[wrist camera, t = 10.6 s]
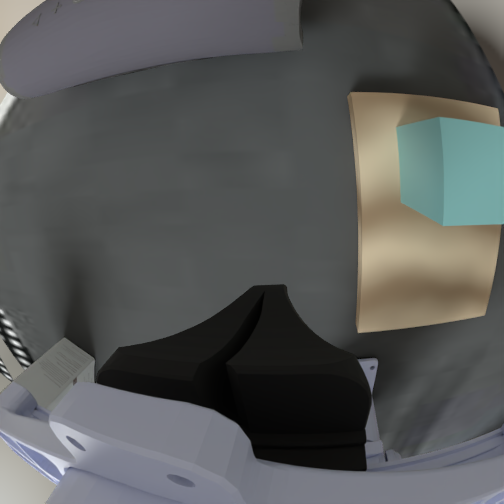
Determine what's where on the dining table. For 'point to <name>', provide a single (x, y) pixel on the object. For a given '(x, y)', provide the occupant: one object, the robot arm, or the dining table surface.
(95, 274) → the dining table surface
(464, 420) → the dining table surface
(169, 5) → the bluetooth speaker
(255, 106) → the dining table surface
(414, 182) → the teal foam brick
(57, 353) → the skincare box
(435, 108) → the base board
